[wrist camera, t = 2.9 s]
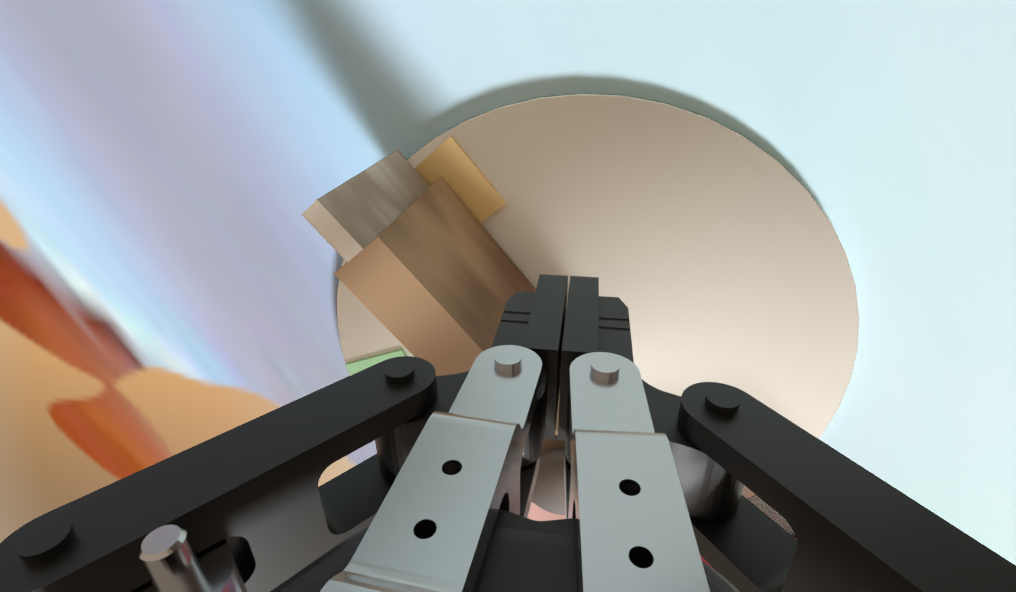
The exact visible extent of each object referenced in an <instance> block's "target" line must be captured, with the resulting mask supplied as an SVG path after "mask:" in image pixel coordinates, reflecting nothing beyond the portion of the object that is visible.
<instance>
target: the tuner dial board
mask: <svg viewBox="0 0 1016 592" xmlns="http://www.w3.org/2000/svg"><path fill="white" fill-rule="evenodd" d="M407 161H408V162H409V163H410V164H411V165H412V166H413V168H414V169H415V170H416V171H417V172H418V173H419V175H420V176H421V177H422V178H423V179H424V180H425V182H426V183H427V184H428V185H429V186H431V185H433V184H434V183H435V182H436V181H437V180H438V179H440V178H441V177H442V178H443V180H444V181H445V182H446V183H447V184H448V186H449V187H450V188H451V189H452V190H453V192H454V193H455V194H456V195H457V196H458V197H459V199H460V200H461V201H462V202H463V203H464V205H465V206H466V207H467V208H468V209H469V211H470V212H471V213H472V214H473V215H474V216H475V218H476V219H477V220H478V221H479V222H480V224H481V225H482V226H483V227H484V228H485V229H486V231H487V232H488V233H489V234H490V235H491V237H492V238H493V239H494V240H495V241H496V243H497V244H498V245H499V246H500V247H501V248H502V250H503V251H504V252H505V253H506V254H507V256H508V257H509V258H510V259H511V260H512V261H513V263H514V264H515V265H516V266H517V267H518V269H519V270H520V271H521V272H522V273H523V275H524V276H525V277H526V278H527V279H528V280H529V282H530V283H531V284H532V285H533V286H534V288H535V289H536V288H537V284H538V279H539V275H540V274H547V275H565V276H568V291H569V283H570V276H584V277H599V296H605V297H619V298H620V299H621V300H622V302H623V303H624V304H625V305H626V306H627V307H628V311H629V322H630V331H631V340H632V350H633V360H634V364H635V365H636V366H637V367H638V369H639V371H640V374H641V378H642V379H643V380H644V381H645V382H646V383H648V384H649V385H651V386H653V387H655V388H657V389H659V390H662V391H665V392H668V393H671V394H675V395H678V396H682V393H683V391H684V390H685V389H686V388H687V387H689V386H691V385H693V384H696V383H701V382H717V383H723V384H727V385H730V386H733V387H736V388H738V389H740V390H742V391H744V392H746V393H748V394H749V395H751V396H752V397H754V398H755V399H757V400H759V401H760V402H762V403H763V404H765V405H766V406H768V407H769V408H771V409H773V410H774V411H776V412H777V413H779V414H780V415H782V416H783V417H785V418H787V419H788V420H790V421H791V422H793V423H794V424H796V425H797V426H799V427H801V428H802V429H804V430H805V431H807V432H808V433H810V434H811V435H813V436H815V437H816V438H818V439H819V438H820V436H821V435H822V434H823V432H824V431H825V429H826V428H827V426H828V424H829V423H830V421H831V419H832V418H833V416H834V415H835V413H836V411H837V410H838V408H839V406H840V403H841V401H842V398H843V396H844V394H845V391H846V389H847V386H848V384H849V382H850V378H851V374H852V370H853V366H854V361H855V357H856V353H857V345H858V328H859V313H858V304H857V296H856V287H855V283H854V279H853V276H852V273H851V269H850V266H849V263H848V259H847V256H846V253H845V251H844V249H843V247H842V245H841V243H840V241H839V239H838V237H837V235H836V233H835V231H834V229H833V227H832V225H831V223H830V221H829V219H828V218H827V217H826V215H825V214H824V212H823V211H822V210H821V208H820V207H819V206H818V204H817V203H816V202H815V200H814V199H813V197H812V196H811V195H810V193H809V192H808V191H807V189H805V188H804V187H803V186H802V185H801V184H800V183H799V182H798V181H797V180H796V179H795V178H794V177H793V176H792V175H791V174H790V173H789V172H788V171H787V170H786V169H785V168H784V167H783V166H782V165H781V164H780V163H779V162H778V161H777V160H775V159H774V158H773V157H771V156H770V155H769V154H767V153H766V152H764V151H763V150H762V149H760V148H759V147H757V146H756V145H755V144H753V143H752V142H750V141H749V140H748V139H746V138H745V137H743V136H742V135H740V134H738V133H736V132H734V131H732V130H730V129H728V128H726V127H724V126H722V125H720V124H719V123H717V122H715V121H713V120H711V119H709V118H707V117H705V116H702V115H699V114H696V113H693V112H690V111H687V110H684V109H681V108H678V107H675V106H672V105H669V104H666V103H661V102H656V101H651V100H646V99H640V98H635V97H630V96H624V95H604V94H583V93H582V94H571V95H560V96H549V97H540V98H536V99H531V100H527V101H523V102H518V103H514V104H510V105H506V106H502V107H499V108H497V109H494V110H491V111H489V112H486V113H484V114H481V115H479V116H476V117H473V118H471V119H468V120H466V121H464V122H462V123H461V124H459V125H457V126H455V127H454V128H452V129H450V130H448V131H447V132H445V133H443V134H441V135H439V136H438V137H436V138H434V139H433V140H431V141H430V142H429V143H427V144H426V145H425V146H424V147H422V148H421V149H420V150H418V151H417V152H416V153H415V154H413V155H412V156H411V157H409V158H408V159H407ZM345 263H346V261H345V260H344V259H343V262H342V265H341V267H342V266H343V265H344V264H345ZM568 291H567V300H568ZM337 323H338V330H339V336H340V343H341V348H342V352H343V355H344V359H345V362H346V365H345V366H346V367H347V369H348V372H349V374H350V376H351V375H353V374H355V373H357V372H360V371H362V370H364V369H366V368H368V367H371V366H373V365H375V364H377V363H379V362H382V361H384V360H387V359H390V358H394V357H401V356H412V357H414V356H413V355H412V354H411V353H410V352H409V351H408V350H407V349H406V347H405V346H404V345H403V344H402V343H401V342H400V341H399V340H398V339H397V338H396V337H395V336H394V335H393V334H392V333H391V332H390V331H389V330H388V329H387V328H386V327H385V326H384V325H383V324H382V323H381V322H380V321H379V320H378V319H377V318H376V317H375V316H374V315H373V314H372V313H371V312H370V311H369V309H368V308H367V307H366V306H365V305H364V304H363V303H362V302H361V301H360V300H359V299H358V298H357V297H356V296H355V295H354V294H353V293H352V292H351V291H350V290H349V289H348V288H347V287H346V286H345V285H344V284H343V283H342V282H341V281H340V280H339V284H338V291H337ZM742 495H743V496H744V497H745V498H746V499H748V498H750V497H752V496H754V495H756V494H755V493H753V492H752V491H751V490H750V489H748V488H747V487H746V486H745V485H744V488H743V491H742ZM528 519H531V520H535V521H549V520H559V519H565V515H557V514H553V513H550V512H548V511H545V510H543V509H542V508H540V507H538V506H537V505H536V504H534V503H533V502H531V505H530V509H529V513H528Z"/></svg>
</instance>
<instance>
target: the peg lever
mask: <svg viewBox="0 0 1016 592" xmlns="http://www.w3.org/2000/svg"><path fill="white" fill-rule="evenodd" d="M302 216H303V217H304V218H305V219H306V220H307V221H308V222H309V223H310V224H311V225H312V226H313V227H314V228H315V229H316V230H317V231H318V232H319V233H320V234H321V236H322V237H323V238H324V239H325V240H326V241H327V242H328V243H329V244H330V245H331V246H332V247H333V248H334V249H335V250H336V251H337V252H338V253H339V254H340V255H341V256H342V257H343V259H344V260H345V261H346V263H345V264H344V265H343V266H342V267H341V268H340V269H339V270H338V271H336V272H335V273H334V275H335V276H336V277H337V278H338V279H339V280H340V281H341V282H342V283H343V284H344V285H345V286H346V287H347V288H348V289H349V290H350V291H351V292H352V293H353V294H354V295H355V296H356V297H357V298H358V299H359V300H360V301H361V302H362V303H363V304H364V305H365V306H366V307H367V308H368V309H369V311H370V312H371V313H372V314H373V315H374V316H375V317H376V318H377V319H378V320H379V321H380V322H381V323H382V324H383V325H384V326H385V327H386V328H387V329H388V330H389V331H390V332H391V333H392V334H393V335H394V336H395V337H396V338H397V339H398V340H399V341H400V342H401V343H402V344H403V345H404V346H405V347H406V349H407V350H408V351H409V352H410V353H411V354H412V355H413V356H414V357H418V358H422V359H424V360H426V361H428V362H430V363H431V364H432V365H433V367H434V369H435V373H436V376H443V375H451V374H458V373H462V372H466V371H469V370H470V369H471V367H472V365H473V363H474V361H475V359H476V358H477V356H478V355H479V354H480V353H482V352H483V351H485V350H487V349H489V348H491V347H492V344H493V341H494V338H495V335H496V332H497V329H498V326H499V323H500V322H501V317H502V314H503V312H504V308H505V305H506V302H507V300H508V299H509V298H510V297H512V296H513V295H514V294H516V293H517V292H518V291H523V292H536V289H535V288H534V286H533V285H532V284H531V283H530V282H529V280H528V279H527V278H526V277H525V276H524V275H523V273H522V272H521V271H520V270H519V269H518V267H517V266H516V265H515V264H514V263H513V261H512V260H511V259H510V258H509V257H508V256H507V254H506V253H505V252H504V251H503V250H502V248H501V247H500V246H499V245H498V244H497V243H496V241H495V240H494V239H493V238H492V237H491V235H490V234H489V233H488V232H487V231H486V229H485V228H484V227H483V226H482V225H481V224H480V222H479V221H478V220H477V219H476V218H475V216H474V215H473V214H472V213H471V212H470V211H469V209H468V208H467V207H466V206H465V205H464V203H463V202H462V201H461V200H460V199H459V197H458V196H457V195H456V194H455V193H454V192H453V190H452V189H451V188H450V187H449V186H448V184H447V183H446V182H445V181H444V180H443V178H442V177H441V178H440V179H438V180H437V181H436V182H435V183H434V184H433V185H431V186H429V185H428V184H427V183H426V182H425V180H424V179H423V178H422V177H421V176H420V175H419V173H418V172H417V171H416V170H415V169H414V168H413V166H412V165H411V164H410V163H409V162H408V161H407V159H406V158H405V157H404V156H403V155H402V154H401V152H400V151H399V150H397V151H395V152H393V153H392V154H390V155H388V156H387V157H385V158H384V159H382V160H380V161H379V162H377V163H375V164H374V165H372V166H371V167H369V168H367V169H366V170H364V171H362V172H361V173H359V174H358V175H356V176H354V177H353V178H351V179H350V180H348V181H346V182H345V183H343V184H341V185H340V186H338V187H337V188H335V189H333V190H332V191H330V192H328V193H327V194H325V195H324V196H322V197H320V198H319V199H317V200H316V201H315V202H314V203H313V204H312V205H311V206H310V207H309V208H308V209H307V210H306V211H305V212H304V213H303V214H302ZM559 398H560V394H559ZM558 420H559V403H558V412H557V421H556V431H555V440H552V439H544V445H543V450H542V453H541V455H540V466H539V471H538V476H537V480H536V484H535V488H534V492H533V497H532V501H531V502H533V503H534V504H536V505H537V506H538V507H540V508H542V509H543V510H545V511H548V512H550V513H553V514H557V515H565V491H564V464H565V445H566V441H563V440H558Z"/></svg>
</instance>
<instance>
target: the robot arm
mask: <svg viewBox="0 0 1016 592" xmlns="http://www.w3.org/2000/svg"><path fill="white" fill-rule="evenodd" d="M567 291H568V276H565V275H547V274H540V275H539V279H538V284H537V288H536V292H523V291H518V292H517V293H516V294H514V295H513V296H512V297H510V298H509V299H508V300H507V302H506V305H505V308H504V312H503V314H502V317H501V322H500V323H499V326H498V329H497V332H496V335H495V338H494V341H493V344H492V347H491V348H489V349H487V350H485V351H483V352H482V353H480V354H479V355H478V356H477V358H476V359H475V361H474V363H473V365H472V367H471V369H470V370H469V371H466V372H462V373H458V374H451V375H443V376H436V373H435V369H434V367H433V365H432V364H431V363H430V362H428V361H426V360H424V359H422V358H418V357H412V356H401V357H394V358H390V359H387V360H384V361H382V362H379V363H377V364H375V365H373V366H371V367H368V368H366V369H364V370H362V371H360V372H357V373H355V374H353V375H351V376H349V377H346V378H344V379H342V380H340V381H337V382H335V383H333V384H331V385H329V386H326V387H324V388H322V389H320V390H318V391H315V392H313V393H311V394H309V395H307V396H304V397H302V398H300V399H298V400H295V401H293V402H291V403H289V404H287V405H284V406H282V407H280V408H278V409H276V410H273V411H271V412H269V413H267V414H265V415H263V416H260V417H258V418H256V419H254V420H251V421H249V422H247V423H245V424H242V425H240V426H238V427H236V428H234V429H231V430H229V431H227V432H225V433H223V434H220V435H218V436H216V437H214V438H212V439H209V440H207V441H205V442H203V443H200V444H198V445H196V446H194V447H192V448H190V449H187V450H185V451H183V452H181V453H178V454H176V455H174V456H172V457H170V458H167V459H165V460H163V461H161V462H158V463H156V464H154V465H152V466H150V467H147V468H145V469H143V470H141V471H139V472H136V473H134V474H132V475H130V476H128V477H125V478H123V479H121V480H119V481H116V482H114V483H112V484H110V485H108V486H106V487H103V488H101V489H99V490H97V491H94V492H92V493H90V494H88V495H86V496H84V497H81V498H79V499H77V500H75V501H72V502H70V503H68V504H66V505H63V506H61V507H59V508H57V509H55V510H52V511H50V512H48V513H46V514H44V515H42V516H40V517H38V518H36V519H34V520H32V521H30V522H28V523H27V524H25V525H23V526H22V527H21V528H19V529H18V530H16V531H15V532H13V533H12V534H11V535H10V536H8V537H7V538H6V539H5V540H4V541H3V542H1V543H0V592H1016V566H1015V565H1014V564H1012V563H1011V562H1009V561H1007V560H1006V559H1004V558H1003V557H1001V556H1000V555H998V554H997V553H995V552H993V551H992V550H990V549H989V548H987V547H986V546H984V545H983V544H981V543H979V542H978V541H976V540H975V539H973V538H972V537H970V536H969V535H967V534H965V533H964V532H962V531H961V530H959V529H958V528H956V527H955V526H953V525H951V524H950V523H948V522H947V521H945V520H944V519H942V518H941V517H939V516H937V515H936V514H934V513H933V512H931V511H930V510H928V509H927V508H925V507H923V506H922V505H920V504H919V503H917V502H916V501H914V500H913V499H911V498H909V497H908V496H906V495H905V494H903V493H902V492H900V491H899V490H897V489H895V488H894V487H892V486H891V485H889V484H888V483H886V482H885V481H883V480H881V479H880V478H878V477H877V476H875V475H874V474H872V473H871V472H869V471H867V470H866V469H864V468H863V467H861V466H860V465H858V464H857V463H855V462H853V461H852V460H850V459H849V458H847V457H846V456H844V455H843V454H841V453H839V452H838V451H836V450H835V449H833V448H832V447H830V446H829V445H827V444H825V443H824V442H822V441H821V440H819V439H818V438H816V437H815V436H813V435H811V434H810V433H808V432H807V431H805V430H804V429H802V428H801V427H799V426H797V425H796V424H794V423H793V422H791V421H790V420H788V419H787V418H785V417H783V416H782V415H780V414H779V413H777V412H776V411H774V410H773V409H771V408H769V407H768V406H766V405H765V404H763V403H762V402H760V401H759V400H757V399H755V398H754V397H752V396H751V395H749V394H748V393H746V392H744V391H742V390H740V389H738V388H736V387H733V386H730V385H727V384H723V383H717V382H701V383H696V384H693V385H691V386H689V387H687V388H686V389H685V390H684V391H683V393H682V396H678V395H675V394H671V393H668V392H665V391H662V390H659V389H657V388H655V387H653V386H651V385H649V384H648V383H646V382H645V381H644V380H643V379H642V378H641V374H640V371H639V369H638V367H637V366H636V365H635V364H634V360H633V350H632V340H631V331H630V322H629V311H628V307H627V306H626V305H625V304H624V303H623V302H622V300H621V299H620V298H619V297H605V296H599V277H584V276H570V283H569V291H568V300H567ZM559 394H560V398H559ZM558 403H559V420H558V440H563V441H566V445H565V464H564V491H565V519H559V520H549V521H535V520H531V519H528V513H529V509H530V505H531V501H532V497H533V492H534V488H535V484H536V480H537V476H538V471H539V466H540V455H541V453H542V450H543V445H544V439H552V440H555V431H556V421H557V412H558ZM373 440H375V443H376V449H377V454H376V455H374V456H372V457H370V458H369V459H367V460H365V461H363V462H362V463H360V464H358V465H356V466H355V467H353V468H351V469H349V470H348V471H346V472H344V473H342V474H341V475H339V476H337V477H335V478H334V479H332V480H330V481H328V482H327V483H325V484H323V485H321V486H320V487H318V481H319V478H320V476H321V474H322V473H323V471H324V470H325V469H326V468H327V467H328V466H329V465H330V464H332V463H334V462H335V461H337V460H339V459H341V458H342V457H344V456H346V455H348V454H350V453H352V452H353V451H355V450H357V449H359V448H361V447H362V446H364V445H366V444H368V443H370V442H372V441H373ZM744 485H745V486H746V487H747V488H748V489H750V490H751V491H752V492H753V493H755V494H756V495H757V496H758V497H759V498H761V499H762V500H763V501H764V502H766V503H767V504H768V505H769V506H771V507H772V508H773V509H774V510H776V511H777V512H778V513H779V514H780V515H782V516H783V517H784V518H785V519H786V520H787V522H788V523H789V524H790V526H791V527H792V529H793V531H794V533H795V535H796V539H797V540H796V539H795V538H793V537H792V536H791V535H790V534H789V533H787V532H786V531H785V530H784V529H783V528H781V527H780V526H779V525H778V524H777V523H775V522H774V521H773V520H772V519H771V518H769V517H768V516H767V515H766V514H765V513H763V512H762V511H761V510H760V509H759V508H757V507H756V506H755V505H754V504H752V503H751V502H750V501H749V500H748V499H746V498H745V497H744V496H743V495H742V491H743V488H744ZM700 555H701V556H702V557H703V558H704V559H705V560H706V561H707V562H708V563H709V564H710V565H711V566H712V567H713V568H714V569H713V568H712V567H710V566H709V565H708V564H706V563H705V562H703V561H702V560H701V556H700Z"/></svg>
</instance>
